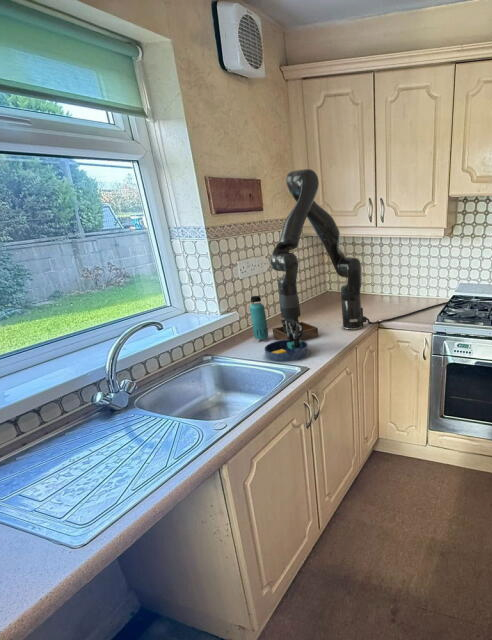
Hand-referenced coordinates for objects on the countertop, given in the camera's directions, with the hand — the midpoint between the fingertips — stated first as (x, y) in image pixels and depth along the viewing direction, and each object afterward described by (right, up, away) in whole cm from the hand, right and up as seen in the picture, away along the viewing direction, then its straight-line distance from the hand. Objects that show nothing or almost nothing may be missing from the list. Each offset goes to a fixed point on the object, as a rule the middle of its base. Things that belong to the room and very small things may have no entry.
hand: (294, 345), depth 168 cm
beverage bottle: (-19, +4, +17) cm, 25 cm away
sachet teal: (0, 0, 0) cm, 0 cm away
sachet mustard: (-5, -4, -3) cm, 8 cm away
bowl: (-3, -4, -1) cm, 5 cm away
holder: (-4, +5, +19) cm, 20 cm away
